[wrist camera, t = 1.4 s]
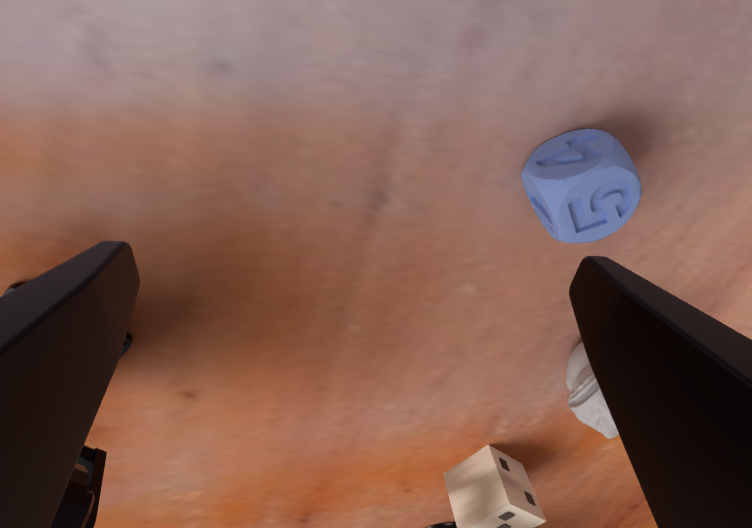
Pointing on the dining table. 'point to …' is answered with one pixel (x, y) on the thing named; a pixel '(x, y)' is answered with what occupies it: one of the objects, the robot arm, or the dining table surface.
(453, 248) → the dining table surface
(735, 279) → the dining table surface
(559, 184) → the decorative dice
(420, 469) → the dining table surface
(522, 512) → the birch pip block
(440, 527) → the white-spotted black cylinder
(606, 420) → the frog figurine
